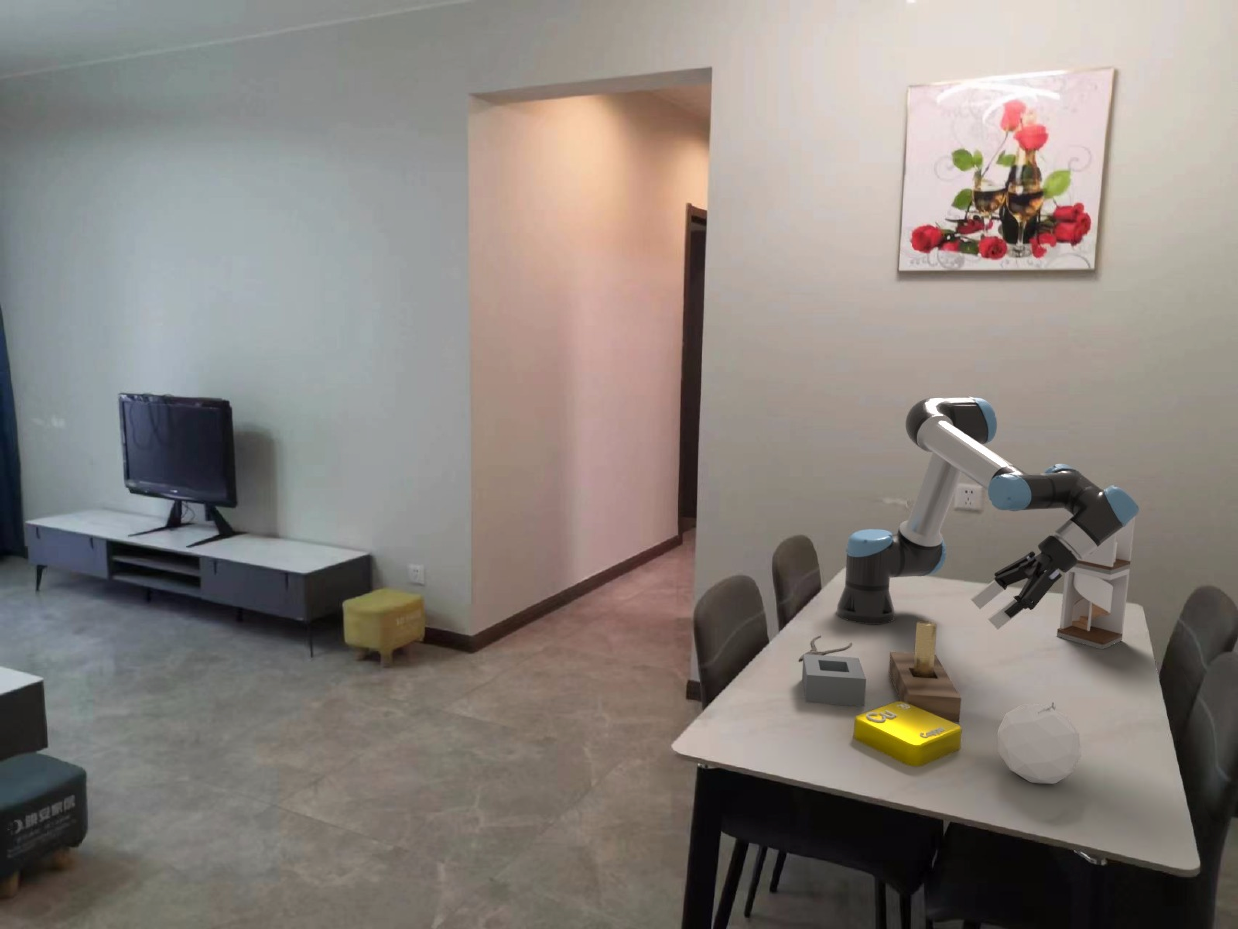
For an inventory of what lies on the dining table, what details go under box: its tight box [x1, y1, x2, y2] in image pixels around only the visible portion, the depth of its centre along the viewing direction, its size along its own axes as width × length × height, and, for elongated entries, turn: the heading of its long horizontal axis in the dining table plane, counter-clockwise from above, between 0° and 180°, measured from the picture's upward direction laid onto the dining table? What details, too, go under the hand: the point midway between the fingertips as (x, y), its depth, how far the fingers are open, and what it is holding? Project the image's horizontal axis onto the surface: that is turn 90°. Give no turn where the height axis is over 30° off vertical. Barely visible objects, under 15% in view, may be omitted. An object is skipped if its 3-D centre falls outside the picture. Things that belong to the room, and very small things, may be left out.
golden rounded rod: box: [913, 620, 938, 678], centre depth 187 cm, size 4×4×16 cm
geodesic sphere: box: [997, 702, 1082, 785], centre depth 153 cm, size 14×14×14 cm
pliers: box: [798, 635, 853, 662], centre depth 213 cm, size 10×1×20 cm
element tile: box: [853, 701, 963, 767], centre depth 166 cm, size 15×15×5 cm
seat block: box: [801, 653, 867, 707], centre depth 188 cm, size 12×12×6 cm
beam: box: [888, 651, 962, 722], centre depth 187 cm, size 24×10×5 cm, turn 172°
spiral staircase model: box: [1056, 512, 1136, 650], centre depth 222 cm, size 11×11×35 cm
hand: (983, 614), depth 183 cm, fingers open, 13 cm apart
